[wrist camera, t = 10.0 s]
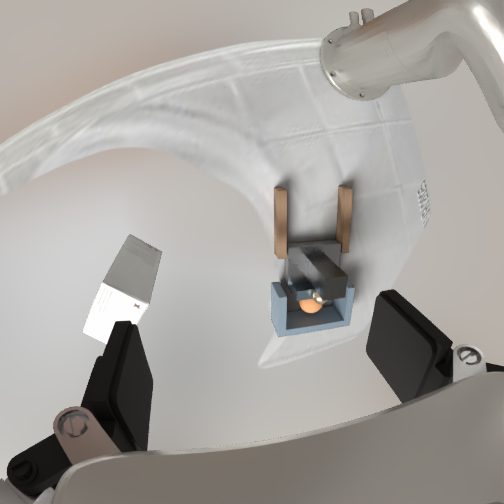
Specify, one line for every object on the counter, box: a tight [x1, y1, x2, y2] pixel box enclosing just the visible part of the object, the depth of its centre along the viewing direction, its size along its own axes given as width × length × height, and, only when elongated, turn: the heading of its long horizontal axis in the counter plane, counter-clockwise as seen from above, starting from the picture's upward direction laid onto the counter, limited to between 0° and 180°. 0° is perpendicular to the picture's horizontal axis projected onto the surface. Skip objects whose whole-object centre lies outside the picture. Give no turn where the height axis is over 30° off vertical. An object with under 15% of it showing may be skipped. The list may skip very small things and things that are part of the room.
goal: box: [271, 280, 355, 337], centre depth 48 cm, size 7×12×5 cm, turn 92°
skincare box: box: [83, 235, 162, 344], centre depth 36 cm, size 8×6×15 cm
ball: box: [299, 299, 323, 313], centre depth 48 cm, size 4×4×4 cm
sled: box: [284, 240, 348, 304], centre depth 43 cm, size 8×8×10 cm
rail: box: [274, 186, 353, 259], centre depth 44 cm, size 10×11×2 cm
